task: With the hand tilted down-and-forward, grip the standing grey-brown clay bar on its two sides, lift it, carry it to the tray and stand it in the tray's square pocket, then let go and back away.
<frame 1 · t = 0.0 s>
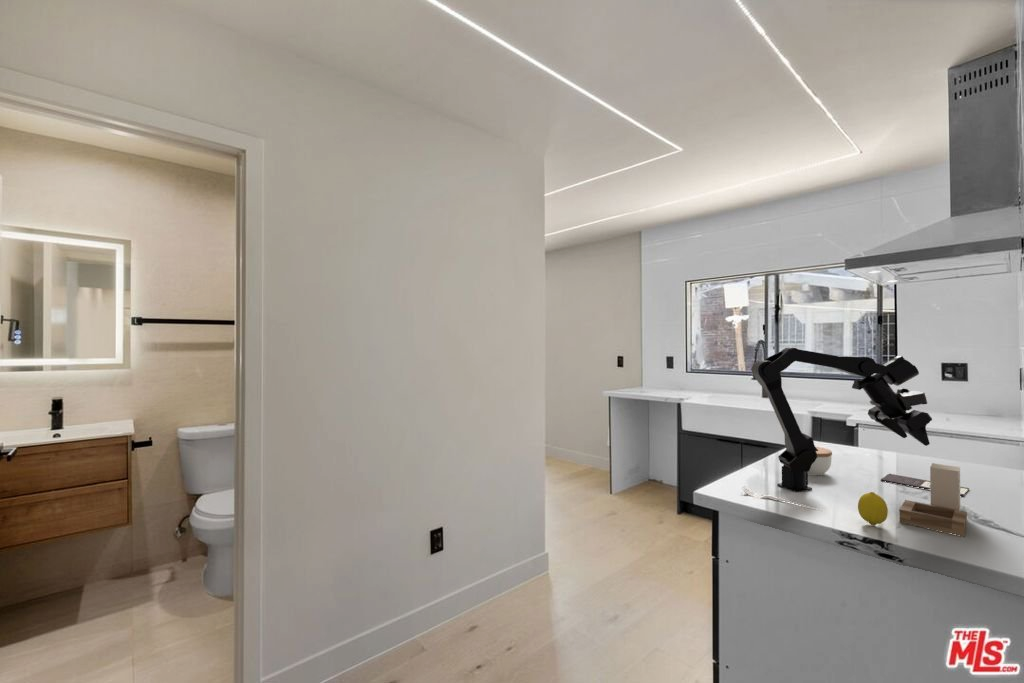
hand: (916, 441, 127), 15 cm above the countertop, tool tilted 35°, fingers open, 9 cm apart
tray: (932, 523, 107), on the countertop
chocolate bar: (923, 487, 133), on the countertop
clay bar: (945, 515, 112), on the countertop
lemon: (872, 526, 106), on the countertop
lidded jar: (812, 473, 147), on the countertop
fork: (780, 503, 123), on the countertop
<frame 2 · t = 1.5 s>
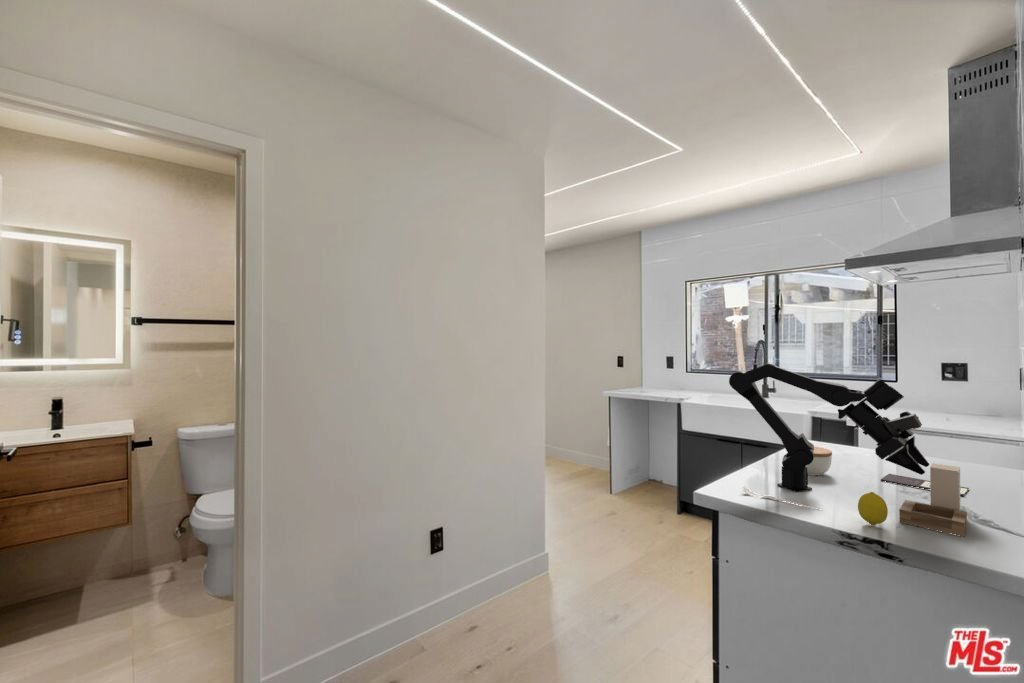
hand: (925, 469, 114), 11 cm above the countertop, tool tilted 45°, fingers open, 9 cm apart
nothing on the countertop moved.
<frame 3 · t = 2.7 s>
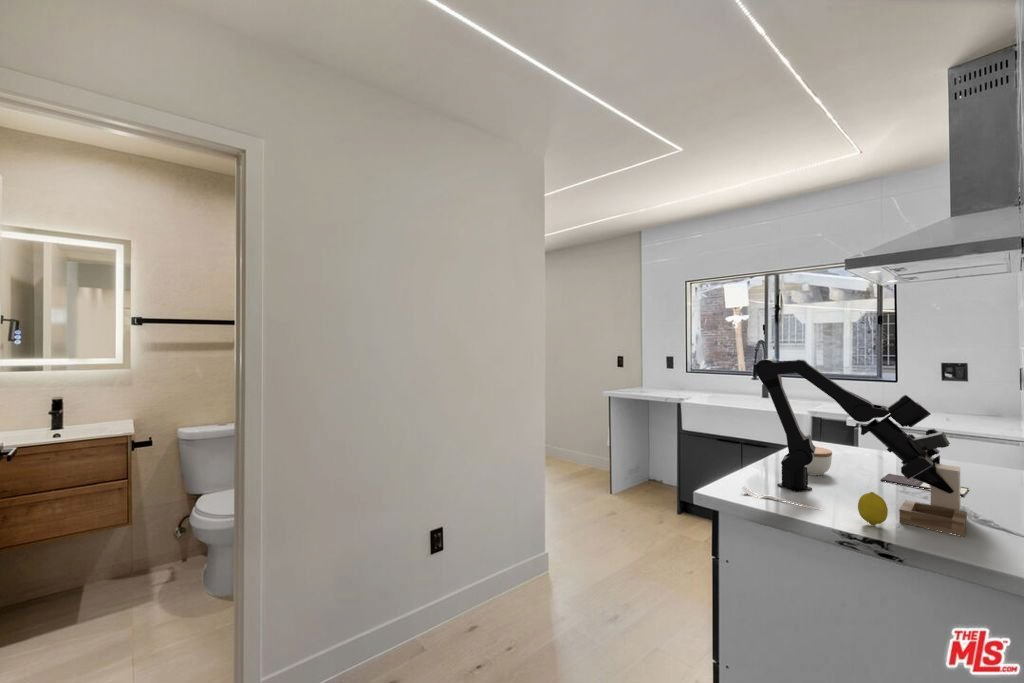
hand: (953, 489, 111), 7 cm above the countertop, tool tilted 45°, fingers closed on clay bar, 5 cm apart
clay bar: (945, 515, 112), on the countertop, touching gripper
everything else where it was.
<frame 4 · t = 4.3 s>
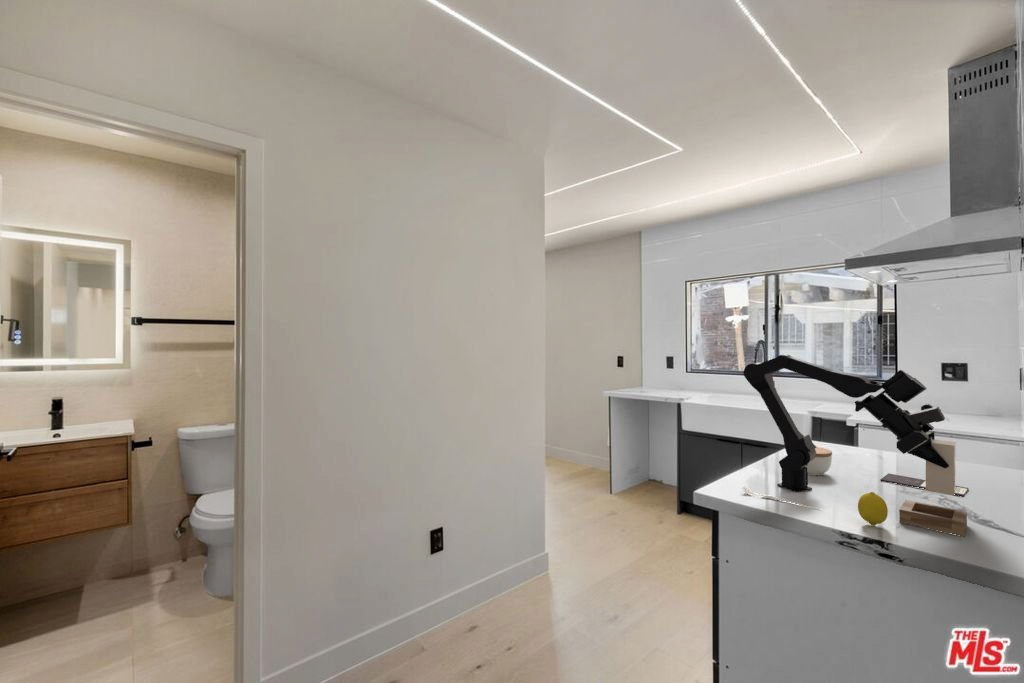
hand: (948, 464, 109), 13 cm above the countertop, tool tilted 45°, fingers closed on clay bar, 5 cm apart
clay bar: (940, 490, 110), point 7 cm above the countertop, touching gripper
everything else where it was.
when the fingers open (9 cm above the countertop, at t = 5.9 s): clay bar drops 1 cm, resting on tray.
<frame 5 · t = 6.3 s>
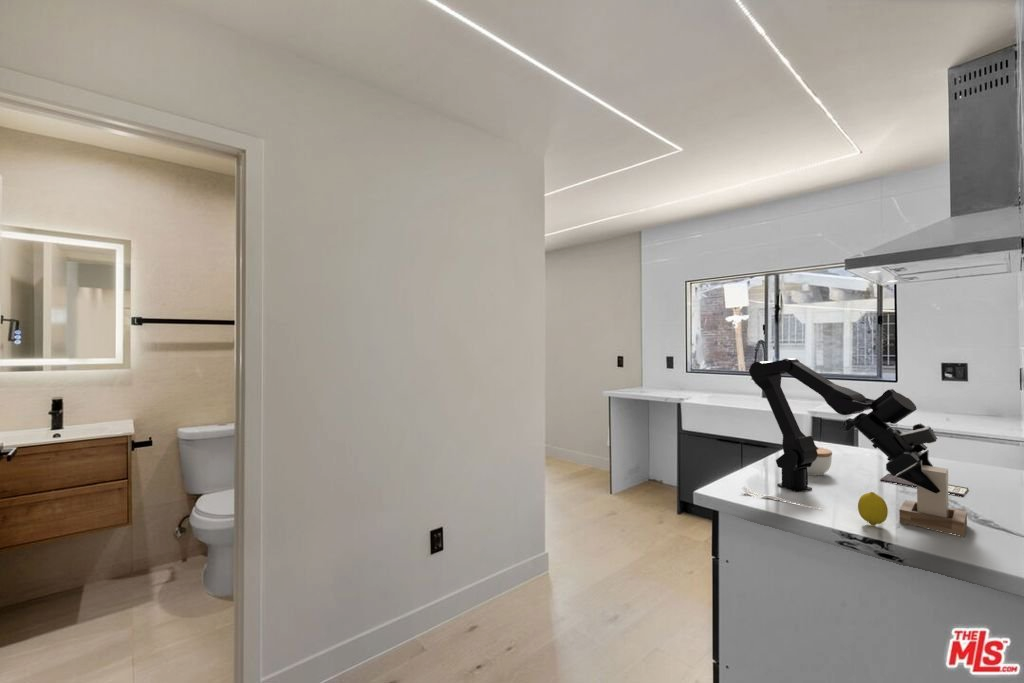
hand: (940, 487, 106), 9 cm above the countertop, tool tilted 45°, fingers open, 9 cm apart
clay bar: (932, 518, 107), point 1 cm above the countertop, touching tray
everything else where it was.
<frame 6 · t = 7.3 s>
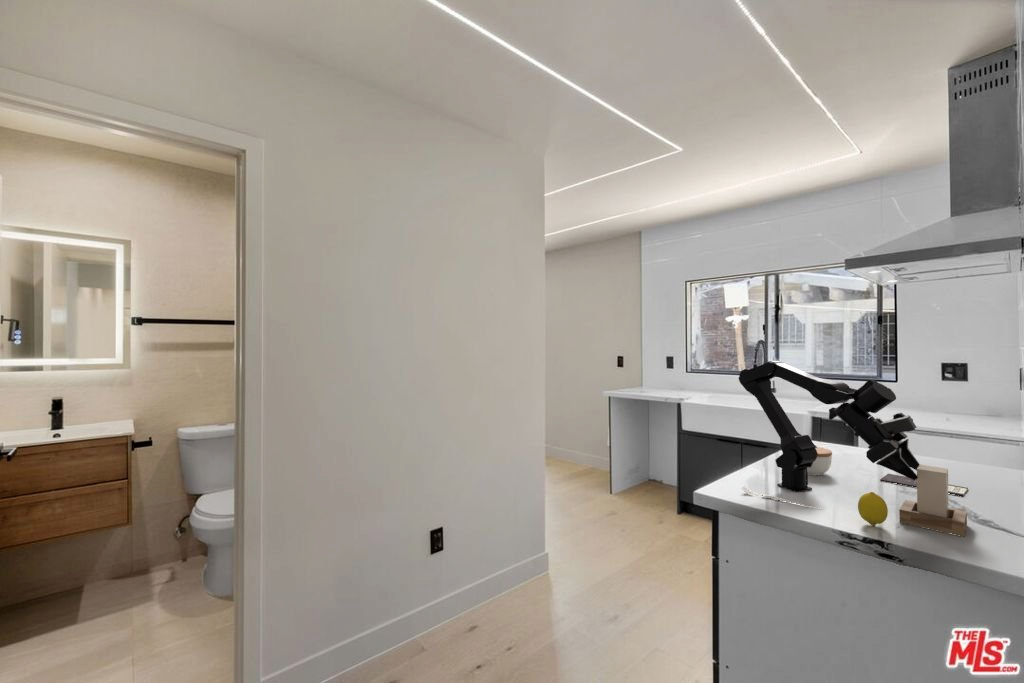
hand: (918, 474, 108), 11 cm above the countertop, tool tilted 45°, fingers open, 9 cm apart
nothing on the countertop moved.
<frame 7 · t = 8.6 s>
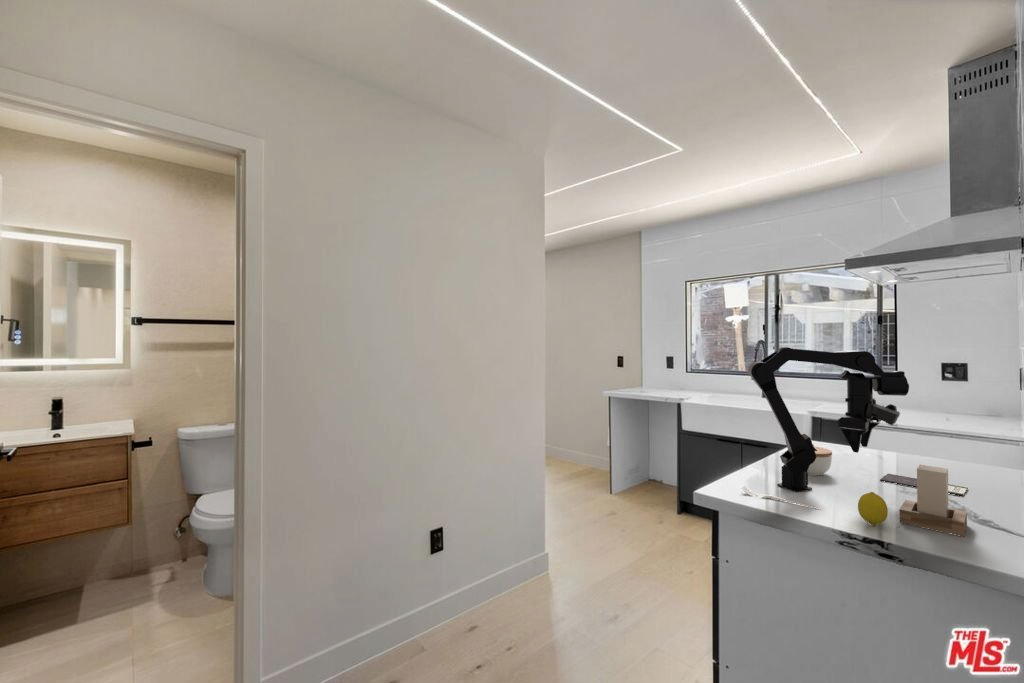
hand: (860, 449, 127), 13 cm above the countertop, tool pointing down, fingers open, 9 cm apart
nothing on the countertop moved.
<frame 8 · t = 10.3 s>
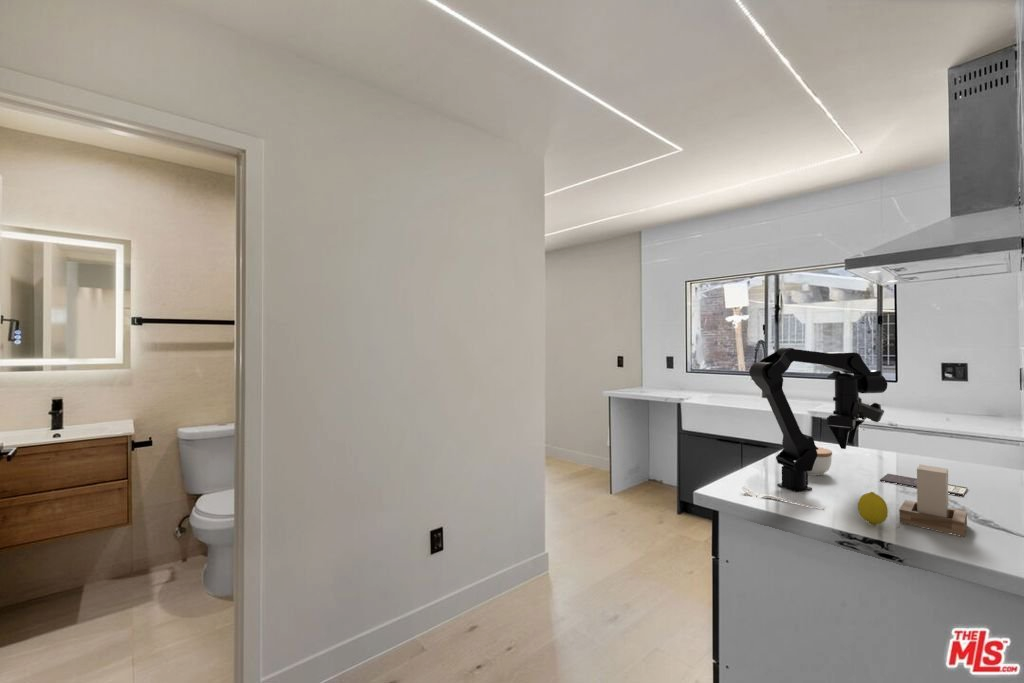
hand: (847, 445, 134), 12 cm above the countertop, tool pointing down, fingers open, 9 cm apart
nothing on the countertop moved.
at the end: clay bar 0.0 cm off-centre on the tray, point 1.2 cm above the tray's base; clay bar tilted 0°; the gripper is holding nothing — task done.
